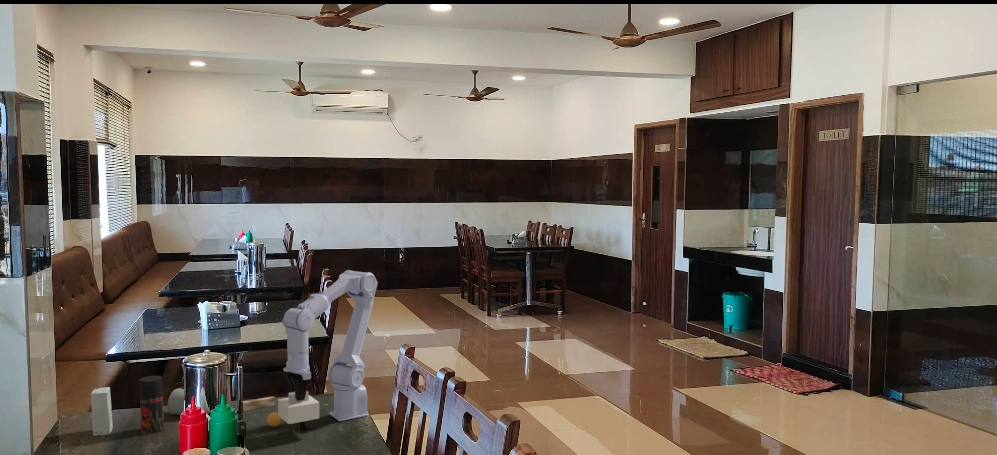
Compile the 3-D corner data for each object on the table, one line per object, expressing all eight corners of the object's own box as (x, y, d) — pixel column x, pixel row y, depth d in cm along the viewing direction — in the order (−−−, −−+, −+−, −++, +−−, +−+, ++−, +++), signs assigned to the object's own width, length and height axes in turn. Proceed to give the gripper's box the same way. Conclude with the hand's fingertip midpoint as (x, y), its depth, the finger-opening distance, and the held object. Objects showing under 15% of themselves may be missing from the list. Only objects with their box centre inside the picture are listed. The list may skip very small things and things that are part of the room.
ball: (279, 422, 218) (278, 409, 217) (283, 426, 215) (283, 413, 214) (265, 425, 216) (265, 412, 215) (269, 429, 212) (269, 416, 212)
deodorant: (167, 429, 211) (165, 378, 210) (146, 435, 207) (144, 382, 206) (158, 424, 215) (157, 374, 214) (137, 429, 211) (135, 378, 210)
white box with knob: (308, 409, 214) (308, 386, 214) (319, 418, 207) (319, 394, 207) (278, 415, 209) (277, 390, 209) (288, 424, 202) (288, 399, 202)
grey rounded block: (191, 419, 220) (190, 394, 219) (167, 417, 222) (166, 392, 221) (212, 408, 230) (212, 384, 230) (189, 406, 232) (188, 382, 232)
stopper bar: (273, 404, 235) (273, 396, 234) (275, 405, 233) (275, 397, 233) (234, 410, 228) (234, 403, 228) (236, 412, 227) (236, 404, 226)
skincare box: (109, 434, 207) (108, 392, 206) (91, 436, 206) (90, 394, 205) (113, 427, 213) (111, 386, 212) (95, 429, 212) (93, 387, 211)
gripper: (275, 347, 210) (276, 394, 212) (292, 358, 199) (293, 408, 200) (299, 344, 214) (300, 390, 216) (318, 355, 203) (318, 403, 204)
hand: (298, 398), depth 208 cm, fingers closed on white box with knob, 2 cm apart
